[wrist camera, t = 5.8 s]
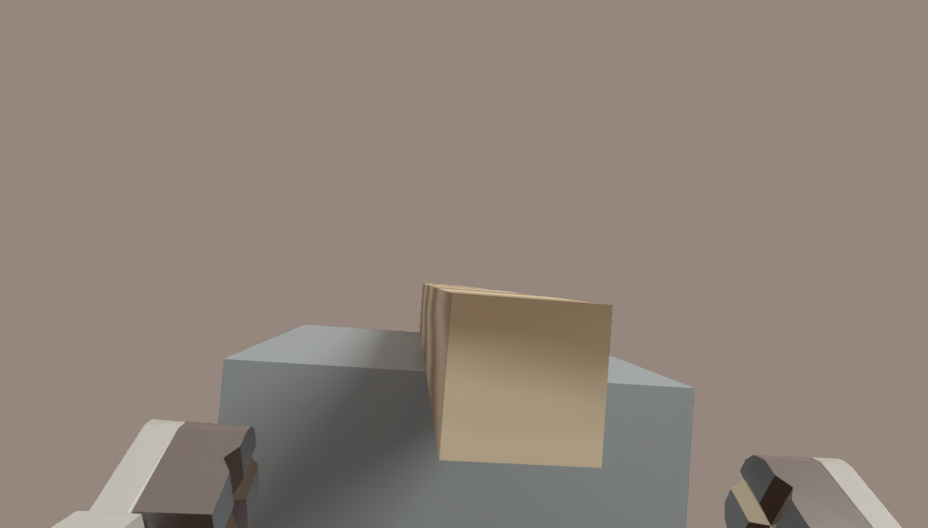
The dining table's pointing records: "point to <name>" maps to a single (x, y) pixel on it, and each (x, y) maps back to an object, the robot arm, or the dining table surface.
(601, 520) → the podium
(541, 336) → the birch rod
